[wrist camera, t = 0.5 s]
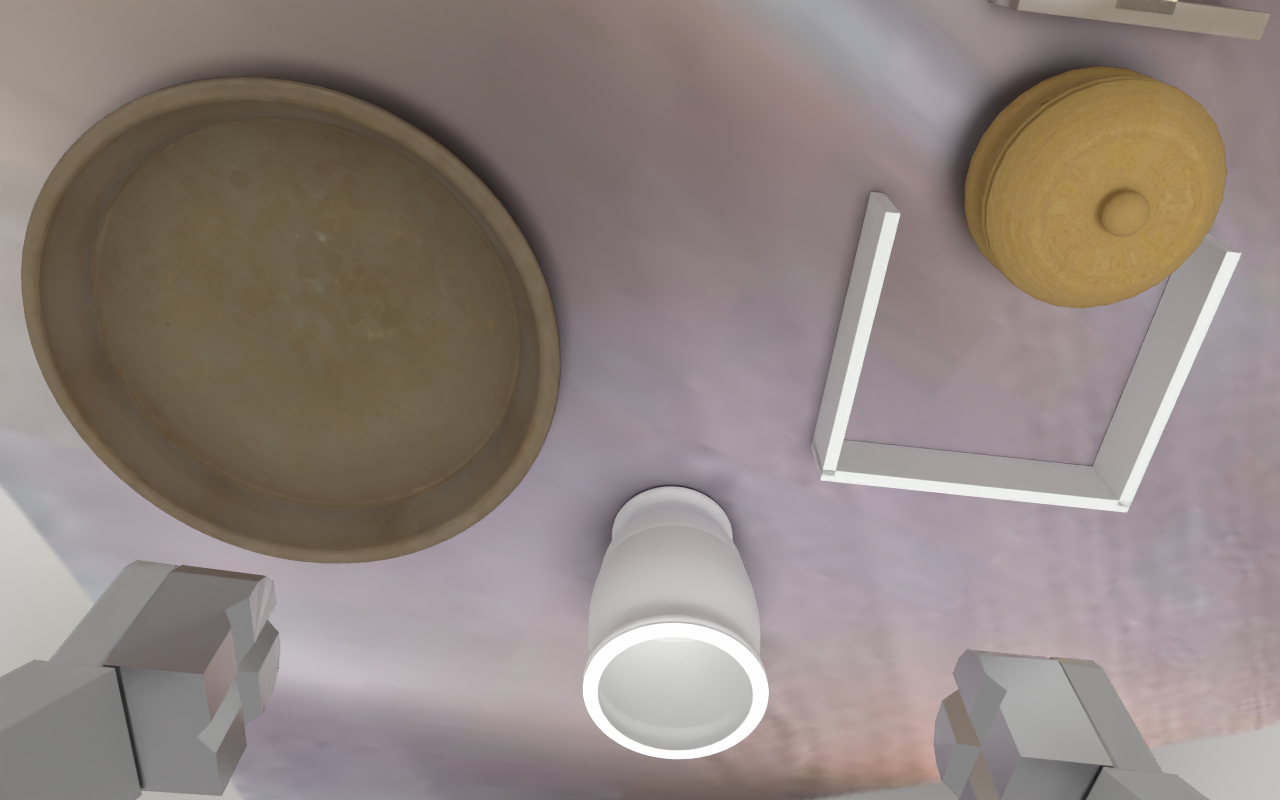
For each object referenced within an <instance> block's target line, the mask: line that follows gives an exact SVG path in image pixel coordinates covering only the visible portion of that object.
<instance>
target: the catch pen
mask: <svg viewBox="0 0 1280 800" xmlns="http://www.w3.org/2000/svg"><path fill="white" fill-rule="evenodd" d="M899 218H900V212H899V211H898V210H897V209H896V207H895V206H894V205H893V204H892V202H891V201H890V200H889V198H888V197H887V196H886V195H885V193H878V192H870V197H869V201H868V205H867V209H866V214H865V218H864V222H863V227H862V231H861V235H860V239H859V244H858V248H857V252H856V256H855V261H854V265H853V269H852V274H851V278H850V282H849V286H848V291H847V295H846V299H845V304H844V308H843V312H842V316H841V321H840V325H839V329H838V333H837V338H836V342H835V346H834V351H833V355H832V359H831V363H830V368H829V372H828V376H827V381H826V385H825V389H824V393H823V398H822V402H821V406H820V410H819V415H818V419H817V423H816V428H815V432H814V436H813V440H812V445H811V449H812V452H813V456H814V460H815V463H816V467H817V470H818V474H819V477H820V480H824V481H833V482H843V483H852V484H862V485H871V486H881V487H890V488H900V489H909V490H919V491H928V492H938V493H947V494H957V495H966V496H975V497H985V498H994V499H1004V500H1013V501H1023V502H1032V503H1042V504H1051V505H1061V506H1070V507H1080V508H1089V509H1099V510H1108V511H1118V512H1127V511H1128V509H1129V507H1130V504H1131V502H1132V500H1133V498H1134V495H1135V493H1136V491H1137V488H1138V486H1139V484H1140V482H1141V479H1142V477H1143V475H1144V473H1145V470H1146V468H1147V466H1148V464H1149V461H1150V459H1151V457H1152V455H1153V452H1154V450H1155V448H1156V446H1157V443H1158V441H1159V439H1160V436H1161V434H1162V432H1163V430H1164V427H1165V425H1166V423H1167V421H1168V418H1169V416H1170V414H1171V412H1172V409H1173V407H1174V405H1175V403H1176V400H1177V398H1178V396H1179V394H1180V391H1181V389H1182V387H1183V384H1184V382H1185V380H1186V378H1187V375H1188V373H1189V371H1190V369H1191V366H1192V364H1193V362H1194V360H1195V357H1196V355H1197V353H1198V351H1199V348H1200V346H1201V344H1202V342H1203V339H1204V337H1205V335H1206V332H1207V330H1208V328H1209V326H1210V323H1211V321H1212V319H1213V317H1214V314H1215V312H1216V310H1217V308H1218V305H1219V303H1220V301H1221V299H1222V296H1223V294H1224V292H1225V290H1226V287H1227V285H1228V283H1229V280H1230V278H1231V276H1232V274H1233V271H1234V269H1235V267H1236V265H1237V262H1238V260H1239V258H1240V256H1241V253H1240V252H1239V251H1237V250H1235V249H1233V248H1232V247H1230V246H1228V245H1227V244H1225V243H1223V242H1222V241H1220V240H1218V239H1217V238H1215V237H1213V236H1212V235H1210V234H1208V233H1207V234H1206V236H1205V237H1204V239H1203V240H1202V242H1201V244H1200V245H1199V247H1198V248H1197V249H1196V250H1195V251H1194V252H1193V253H1192V254H1191V256H1190V257H1189V258H1188V259H1187V260H1186V261H1185V262H1184V263H1183V264H1182V265H1181V266H1180V267H1179V268H1178V269H1177V270H1176V271H1174V272H1173V273H1172V274H1171V276H1170V278H1169V281H1168V283H1167V286H1166V288H1165V290H1164V293H1163V295H1162V298H1161V300H1160V303H1159V305H1158V308H1157V310H1156V312H1155V315H1154V317H1153V320H1152V322H1151V325H1150V327H1149V330H1148V332H1147V334H1146V337H1145V339H1144V342H1143V344H1142V347H1141V349H1140V352H1139V354H1138V356H1137V359H1136V361H1135V364H1134V366H1133V369H1132V371H1131V374H1130V376H1129V378H1128V381H1127V383H1126V386H1125V388H1124V391H1123V393H1122V396H1121V398H1120V400H1119V403H1118V405H1117V408H1116V410H1115V413H1114V415H1113V418H1112V420H1111V423H1110V425H1109V427H1108V430H1107V432H1106V435H1105V437H1104V440H1103V442H1102V445H1101V447H1100V449H1099V452H1098V454H1097V457H1096V459H1095V462H1094V464H1093V466H1084V465H1074V464H1065V463H1056V462H1046V461H1037V460H1028V459H1018V458H1009V457H1000V456H990V455H981V454H972V453H962V452H953V451H943V450H934V449H925V448H915V447H906V446H897V445H887V444H878V443H869V442H859V441H850V440H844V436H845V432H846V428H847V424H848V420H849V416H850V412H851V408H852V404H853V400H854V396H855V392H856V388H857V384H858V380H859V376H860V372H861V368H862V364H863V360H864V356H865V352H866V348H867V344H868V341H869V337H870V333H871V329H872V325H873V321H874V317H875V313H876V309H877V305H878V301H879V297H880V293H881V289H882V285H883V281H884V277H885V273H886V269H887V265H888V261H889V257H890V253H891V249H892V245H893V241H894V237H895V234H896V230H897V226H898V222H899Z"/></svg>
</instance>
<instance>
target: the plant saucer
mask: <svg viewBox="0 0 1280 800" xmlns="http://www.w3.org/2000/svg"><path fill="white" fill-rule="evenodd" d="M21 280H22V297H23V305H24V313H25V319H26V324H27V328H28V333H29V337H30V341H31V345H32V347H33V350H34V353H35V356H36V359H37V362H38V364H39V367H40V369H41V372H42V374H43V376H44V378H45V381H46V383H47V385H48V387H49V388H50V390H51V392H52V394H53V396H54V398H55V399H56V401H57V403H58V405H59V406H60V408H61V409H62V411H63V412H64V414H65V415H66V417H67V418H68V420H69V421H70V423H71V424H72V426H73V427H74V428H75V430H76V431H77V432H78V434H79V435H80V436H81V438H82V439H83V440H84V441H85V442H86V443H87V445H88V446H89V447H90V448H91V449H92V451H93V452H94V453H95V454H96V455H97V456H98V457H99V458H100V459H101V460H102V461H103V462H104V463H105V465H106V466H107V467H108V468H109V469H110V470H112V471H113V472H114V473H115V474H116V475H117V476H118V477H119V478H120V479H121V480H123V481H124V482H125V483H126V484H127V485H129V486H130V487H131V488H132V489H133V490H134V491H136V492H137V493H138V494H140V495H141V496H142V497H144V498H145V499H147V500H148V501H149V502H151V503H152V504H154V505H155V506H157V507H158V508H159V509H161V510H162V511H164V512H166V513H167V514H169V515H171V516H172V517H174V518H176V519H177V520H179V521H181V522H183V523H185V524H186V525H188V526H190V527H192V528H194V529H196V530H198V531H200V532H202V533H204V534H206V535H209V536H211V537H213V538H216V539H218V540H221V541H223V542H226V543H229V544H231V545H234V546H237V547H240V548H243V549H246V550H249V551H253V552H256V553H260V554H264V555H268V556H273V557H278V558H283V559H289V560H295V561H303V562H315V563H360V562H371V561H379V560H385V559H390V558H395V557H399V556H404V555H408V554H411V553H414V552H417V551H420V550H423V549H426V548H429V547H432V546H434V545H436V544H439V543H441V542H443V541H446V540H448V539H450V538H452V537H454V536H456V535H458V534H459V533H461V532H463V531H465V530H466V529H468V528H469V527H471V526H473V525H474V524H476V523H477V522H479V521H480V520H481V519H483V518H484V517H485V516H486V515H488V514H489V513H490V512H492V511H493V510H494V509H495V508H496V507H497V506H498V505H499V504H500V503H501V502H503V501H504V500H505V499H506V498H507V497H508V496H509V494H510V493H511V492H512V491H513V490H514V489H515V488H516V487H517V486H518V485H519V483H520V482H521V481H522V479H523V478H524V477H525V475H526V474H527V472H528V470H529V469H530V467H531V466H532V464H533V462H534V461H535V459H536V458H537V456H538V454H539V452H540V450H541V447H542V445H543V443H544V441H545V439H546V436H547V434H548V432H549V429H550V426H551V423H552V419H553V416H554V412H555V408H556V403H557V398H558V391H559V384H560V341H559V331H558V325H557V320H556V315H555V310H554V306H553V302H552V299H551V295H550V291H549V289H548V286H547V283H546V280H545V277H544V274H543V272H542V270H541V268H540V265H539V263H538V261H537V259H536V257H535V255H534V253H533V251H532V249H531V247H530V245H529V243H528V242H527V240H526V238H525V236H524V235H523V233H522V232H521V230H520V228H519V227H518V225H517V224H516V222H515V221H514V219H513V218H512V216H511V215H510V213H509V212H508V211H507V210H506V208H505V207H504V206H503V204H502V203H501V202H500V200H499V199H498V198H497V197H496V196H495V195H494V193H493V192H492V191H491V190H490V189H489V187H488V186H487V185H486V184H485V183H484V182H483V181H482V180H481V179H480V178H479V177H478V176H477V175H476V174H475V173H474V172H473V171H472V170H471V169H470V168H469V167H468V166H467V165H466V164H464V163H463V162H462V161H461V160H460V159H459V158H458V157H457V156H456V155H454V154H453V153H452V152H451V151H450V150H448V149H447V148H446V147H444V146H443V145H442V144H440V143H439V142H438V141H436V140H435V139H434V138H432V137H431V136H429V135H428V134H426V133H425V132H423V131H422V130H420V129H419V128H417V127H416V126H414V125H412V124H411V123H409V122H407V121H405V120H404V119H402V118H400V117H398V116H396V115H395V114H393V113H391V112H389V111H387V110H385V109H382V108H380V107H378V106H376V105H374V104H371V103H369V102H367V101H364V100H362V99H359V98H356V97H354V96H351V95H348V94H345V93H342V92H339V91H335V90H332V89H328V88H325V87H322V86H318V85H313V84H308V83H303V82H298V81H291V80H284V79H277V78H266V77H221V78H211V79H204V80H197V81H191V82H187V83H182V84H177V85H174V86H170V87H167V88H163V89H161V90H158V91H155V92H152V93H150V94H147V95H145V96H142V97H140V98H137V99H135V100H133V101H131V102H129V103H127V104H125V105H124V106H122V107H120V108H119V109H117V110H115V111H114V112H112V113H110V114H109V115H107V116H106V117H104V118H103V119H102V120H100V121H99V122H97V123H96V124H95V125H94V126H92V127H91V128H90V129H89V130H88V131H86V132H85V133H84V134H83V135H82V136H81V137H80V138H79V139H78V140H77V141H76V142H75V143H74V144H73V145H72V146H71V147H70V148H69V149H68V151H67V152H66V153H65V154H64V155H63V156H62V158H61V159H60V161H59V162H58V163H57V165H56V166H55V168H54V169H53V170H52V172H51V173H50V175H49V177H48V179H47V180H46V182H45V184H44V186H43V188H42V190H41V192H40V194H39V196H38V198H37V200H36V202H35V205H34V208H33V210H32V213H31V217H30V220H29V223H28V226H27V231H26V235H25V241H24V247H23V253H22V268H21Z"/></svg>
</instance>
